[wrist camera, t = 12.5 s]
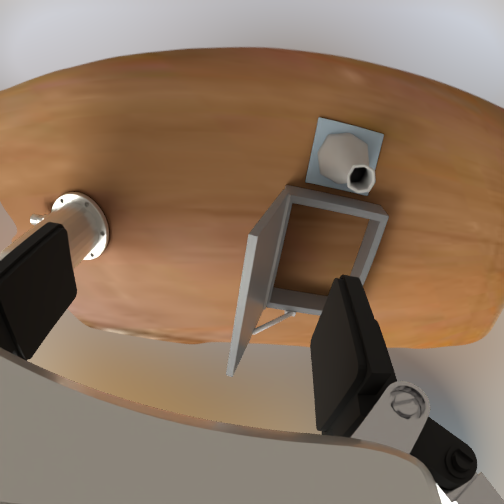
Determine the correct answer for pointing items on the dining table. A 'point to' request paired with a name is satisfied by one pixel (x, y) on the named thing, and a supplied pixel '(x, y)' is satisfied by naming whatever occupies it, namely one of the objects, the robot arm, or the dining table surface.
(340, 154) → the flask
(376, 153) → the mat
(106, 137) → the dining table surface
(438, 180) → the dining table surface
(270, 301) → the case
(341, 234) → the dining table surface
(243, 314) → the lid and stay
